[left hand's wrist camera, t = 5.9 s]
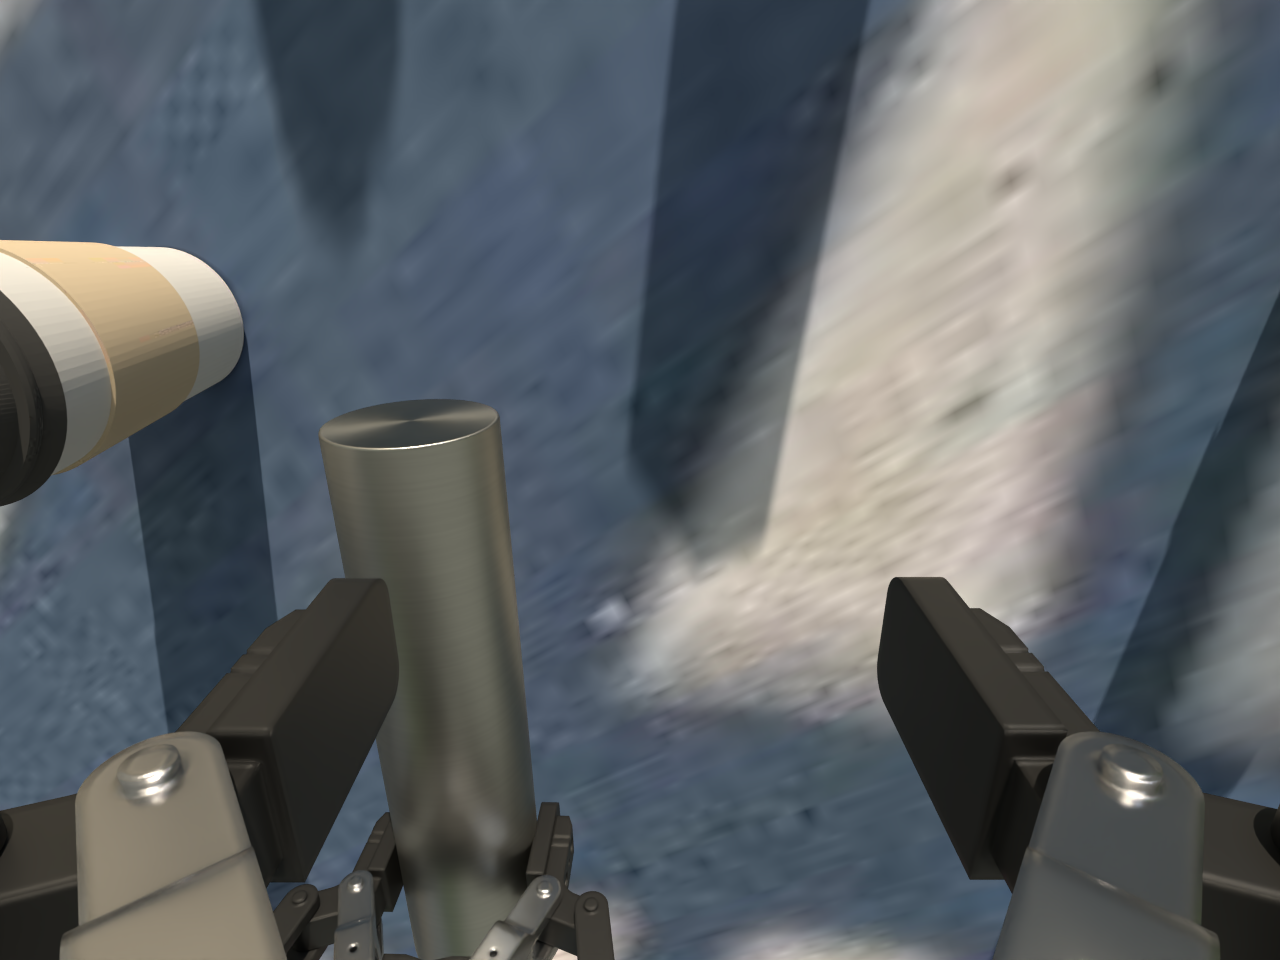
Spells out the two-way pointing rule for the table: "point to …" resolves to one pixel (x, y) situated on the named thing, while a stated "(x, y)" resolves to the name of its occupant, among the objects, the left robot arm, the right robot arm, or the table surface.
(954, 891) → the table surface
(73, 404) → the coffee cup
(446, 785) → the rod
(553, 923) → the right robot arm
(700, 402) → the table surface
